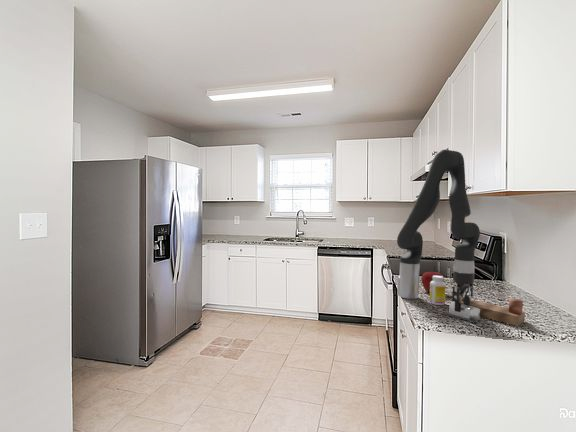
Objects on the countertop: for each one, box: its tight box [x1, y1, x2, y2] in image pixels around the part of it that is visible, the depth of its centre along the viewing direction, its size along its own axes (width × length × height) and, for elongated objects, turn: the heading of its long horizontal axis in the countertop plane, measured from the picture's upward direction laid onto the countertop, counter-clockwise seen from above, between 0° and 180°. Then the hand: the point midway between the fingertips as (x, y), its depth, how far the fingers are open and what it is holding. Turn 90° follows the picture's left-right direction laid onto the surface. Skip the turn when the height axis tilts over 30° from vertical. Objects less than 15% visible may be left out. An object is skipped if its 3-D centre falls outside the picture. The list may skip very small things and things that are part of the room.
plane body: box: [461, 298, 526, 327], centre depth 133 cm, size 23×9×11 cm, turn 39°
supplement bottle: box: [429, 275, 446, 306], centre depth 148 cm, size 7×7×13 cm
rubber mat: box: [443, 310, 482, 323], centre depth 131 cm, size 12×7×1 cm, turn 39°
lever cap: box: [448, 302, 481, 322], centre depth 130 cm, size 11×5×4 cm, turn 38°
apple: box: [420, 271, 445, 294], centre depth 167 cm, size 11×11×12 cm
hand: (462, 309), depth 131 cm, fingers open, 8 cm apart
